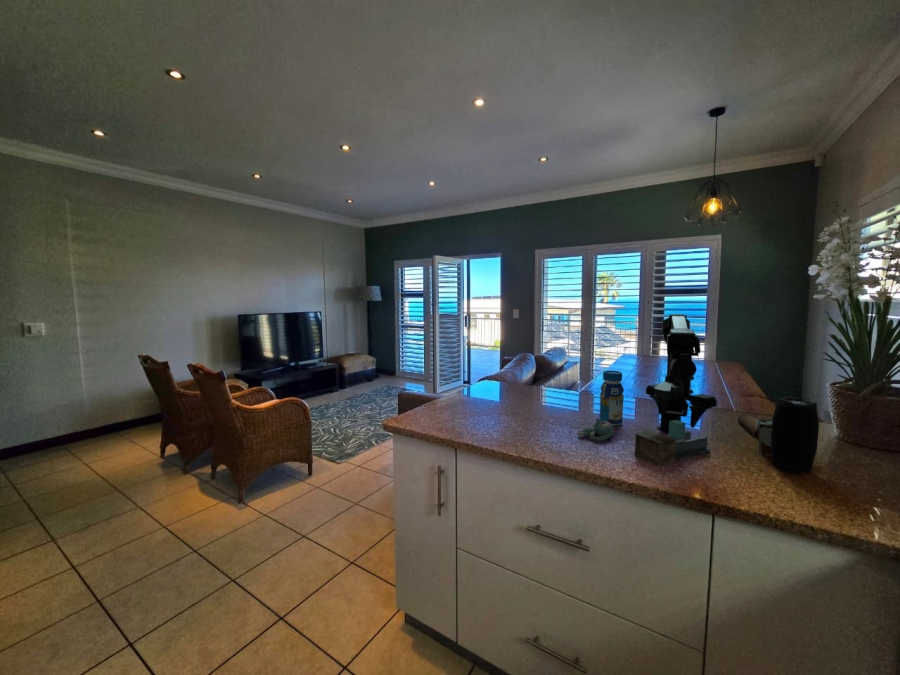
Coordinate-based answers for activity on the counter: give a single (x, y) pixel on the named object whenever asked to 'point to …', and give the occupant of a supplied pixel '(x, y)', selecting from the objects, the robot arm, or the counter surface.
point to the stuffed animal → (598, 430)
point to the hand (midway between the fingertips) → (677, 422)
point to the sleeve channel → (690, 447)
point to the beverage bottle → (612, 398)
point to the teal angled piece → (677, 430)
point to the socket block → (655, 447)
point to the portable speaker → (794, 434)
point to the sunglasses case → (749, 424)
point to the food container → (764, 435)
